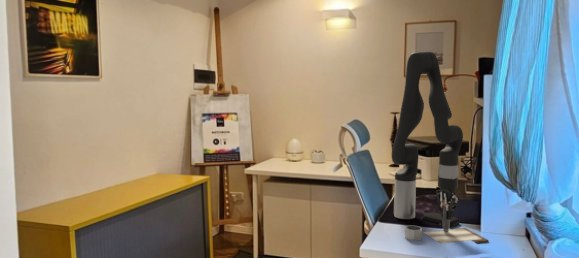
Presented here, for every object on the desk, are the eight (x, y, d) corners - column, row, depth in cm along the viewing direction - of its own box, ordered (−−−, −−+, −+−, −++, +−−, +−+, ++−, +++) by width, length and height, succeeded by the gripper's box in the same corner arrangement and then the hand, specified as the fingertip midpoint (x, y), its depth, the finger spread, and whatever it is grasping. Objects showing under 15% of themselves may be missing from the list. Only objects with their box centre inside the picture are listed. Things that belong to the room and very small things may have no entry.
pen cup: (402, 238, 181) (402, 226, 180) (416, 237, 182) (416, 224, 181) (409, 243, 175) (410, 231, 174) (424, 242, 176) (424, 229, 175)
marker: (440, 230, 186) (441, 201, 184) (447, 229, 186) (448, 200, 185) (444, 232, 183) (445, 203, 181) (451, 232, 183) (452, 202, 182)
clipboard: (416, 233, 186) (416, 231, 186) (465, 229, 191) (465, 227, 190) (436, 247, 171) (436, 244, 171) (488, 242, 176) (488, 239, 176)
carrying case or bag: (417, 222, 202) (449, 230, 191) (418, 215, 201) (449, 223, 190) (430, 217, 209) (461, 224, 198) (431, 210, 208) (461, 218, 198)
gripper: (430, 172, 188) (429, 213, 190) (449, 180, 174) (447, 224, 176) (446, 171, 189) (445, 212, 191) (467, 179, 176) (465, 222, 178)
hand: (446, 217), depth 184 cm, fingers closed on marker, 2 cm apart
